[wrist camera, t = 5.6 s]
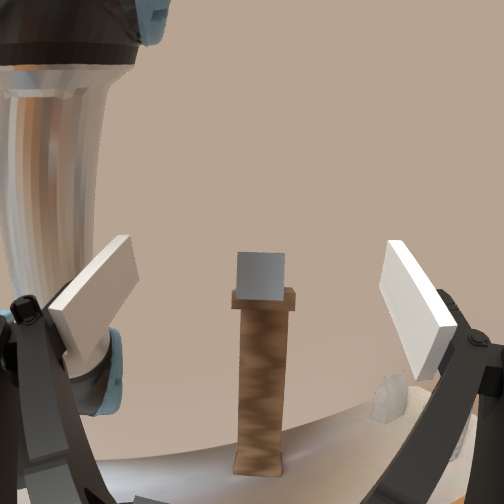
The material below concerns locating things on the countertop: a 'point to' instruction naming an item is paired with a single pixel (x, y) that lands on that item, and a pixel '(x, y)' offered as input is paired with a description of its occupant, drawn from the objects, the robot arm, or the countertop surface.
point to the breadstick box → (260, 276)
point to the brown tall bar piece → (261, 383)
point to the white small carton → (390, 398)
